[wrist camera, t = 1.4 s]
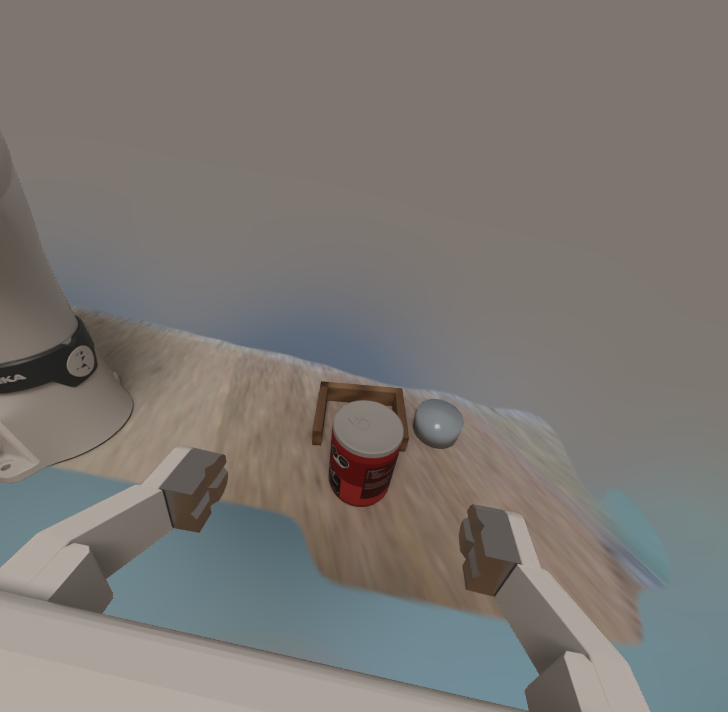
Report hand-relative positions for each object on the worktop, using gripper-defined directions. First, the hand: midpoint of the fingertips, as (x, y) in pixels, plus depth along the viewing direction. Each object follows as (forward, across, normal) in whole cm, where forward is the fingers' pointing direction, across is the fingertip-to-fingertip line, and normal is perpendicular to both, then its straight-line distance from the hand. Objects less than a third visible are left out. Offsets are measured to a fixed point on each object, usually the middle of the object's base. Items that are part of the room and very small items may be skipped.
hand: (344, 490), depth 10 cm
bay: (+31, 0, -24) cm, 39 cm away
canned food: (+21, +1, -26) cm, 33 cm away
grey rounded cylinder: (+32, +11, -24) cm, 42 cm away
